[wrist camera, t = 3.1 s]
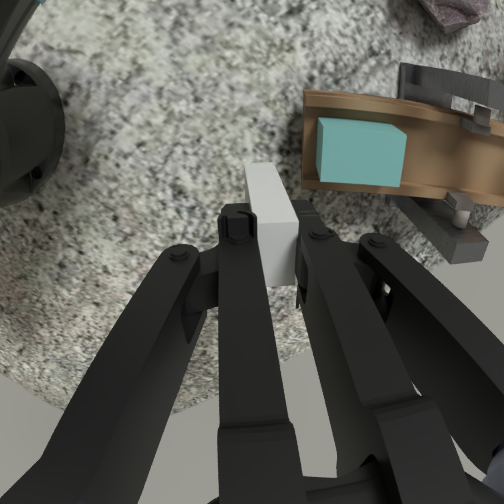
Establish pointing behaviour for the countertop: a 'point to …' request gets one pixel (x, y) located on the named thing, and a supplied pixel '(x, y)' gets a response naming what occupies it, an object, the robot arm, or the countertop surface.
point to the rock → (455, 12)
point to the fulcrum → (437, 210)
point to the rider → (359, 152)
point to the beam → (418, 149)
